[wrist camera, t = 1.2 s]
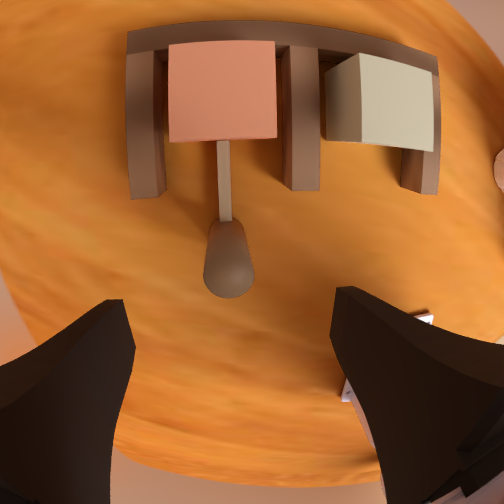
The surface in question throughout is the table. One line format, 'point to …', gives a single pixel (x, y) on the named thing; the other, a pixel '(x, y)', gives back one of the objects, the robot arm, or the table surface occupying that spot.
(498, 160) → the photo printer
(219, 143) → the tethered block
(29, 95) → the table surface
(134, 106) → the lane rack
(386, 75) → the plain block
